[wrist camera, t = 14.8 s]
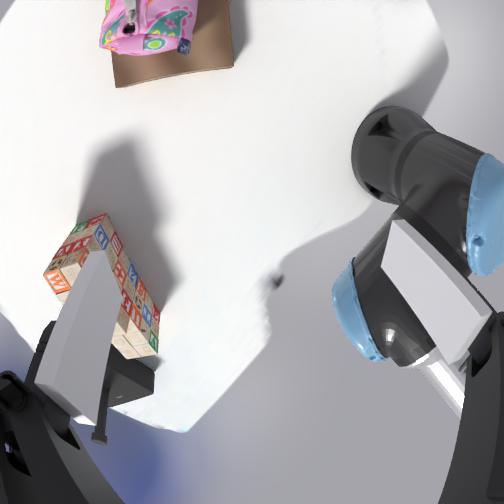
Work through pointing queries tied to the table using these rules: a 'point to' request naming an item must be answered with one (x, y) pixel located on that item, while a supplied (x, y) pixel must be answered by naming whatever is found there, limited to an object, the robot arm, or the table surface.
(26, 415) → the robot arm
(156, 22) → the pencil case
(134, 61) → the walnut riser
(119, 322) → the stack of blocks
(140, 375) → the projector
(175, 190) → the table surface
